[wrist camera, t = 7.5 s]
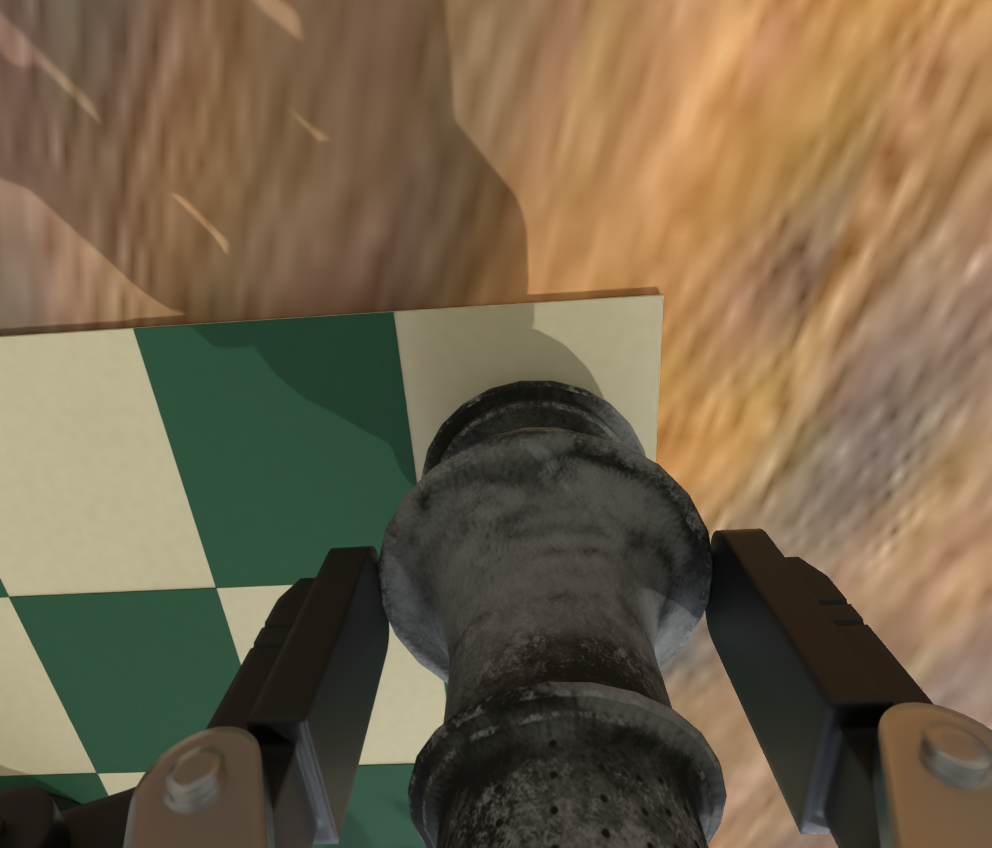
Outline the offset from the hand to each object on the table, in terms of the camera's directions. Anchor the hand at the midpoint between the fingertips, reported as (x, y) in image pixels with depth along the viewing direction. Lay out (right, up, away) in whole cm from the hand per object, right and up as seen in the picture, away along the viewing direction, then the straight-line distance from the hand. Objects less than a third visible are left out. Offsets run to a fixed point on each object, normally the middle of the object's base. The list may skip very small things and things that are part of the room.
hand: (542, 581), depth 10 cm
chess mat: (-8, -5, +7) cm, 12 cm away
